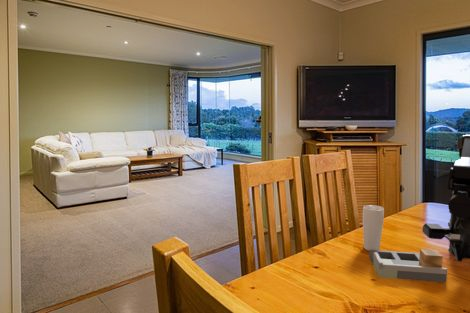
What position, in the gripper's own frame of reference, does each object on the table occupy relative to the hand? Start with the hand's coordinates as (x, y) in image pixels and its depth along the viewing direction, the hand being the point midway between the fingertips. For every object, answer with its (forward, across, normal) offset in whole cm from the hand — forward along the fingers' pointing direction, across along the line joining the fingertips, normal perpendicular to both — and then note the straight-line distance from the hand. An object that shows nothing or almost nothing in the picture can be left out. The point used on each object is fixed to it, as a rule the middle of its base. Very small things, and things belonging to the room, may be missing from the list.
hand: (458, 260), depth 97 cm
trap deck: (+5, -14, +3) cm, 15 cm away
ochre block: (+2, -8, 0) cm, 8 cm away
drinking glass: (+5, -20, +17) cm, 27 cm away
